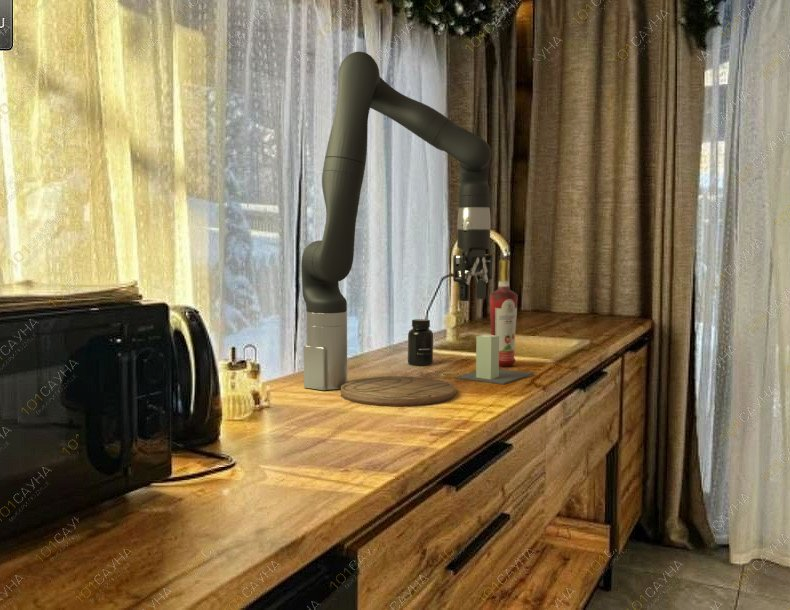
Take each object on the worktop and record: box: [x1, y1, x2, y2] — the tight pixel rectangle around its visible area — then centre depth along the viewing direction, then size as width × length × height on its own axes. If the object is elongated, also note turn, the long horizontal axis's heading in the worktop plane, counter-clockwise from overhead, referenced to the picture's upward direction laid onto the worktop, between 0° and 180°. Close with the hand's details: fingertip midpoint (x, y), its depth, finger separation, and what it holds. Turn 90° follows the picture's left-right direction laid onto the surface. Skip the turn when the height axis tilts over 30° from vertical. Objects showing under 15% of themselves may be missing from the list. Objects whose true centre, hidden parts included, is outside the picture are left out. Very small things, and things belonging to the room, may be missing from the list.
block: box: [475, 334, 500, 379], centre depth 182 cm, size 4×4×10 cm
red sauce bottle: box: [489, 259, 519, 368], centre depth 200 cm, size 7×7×28 cm
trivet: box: [340, 375, 457, 408], centre depth 164 cm, size 25×25×2 cm
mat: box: [455, 368, 535, 385], centre depth 185 cm, size 16×13×1 cm
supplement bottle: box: [407, 318, 434, 367], centre depth 203 cm, size 7×7×12 cm
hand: (472, 299), depth 174 cm, fingers open, 7 cm apart
